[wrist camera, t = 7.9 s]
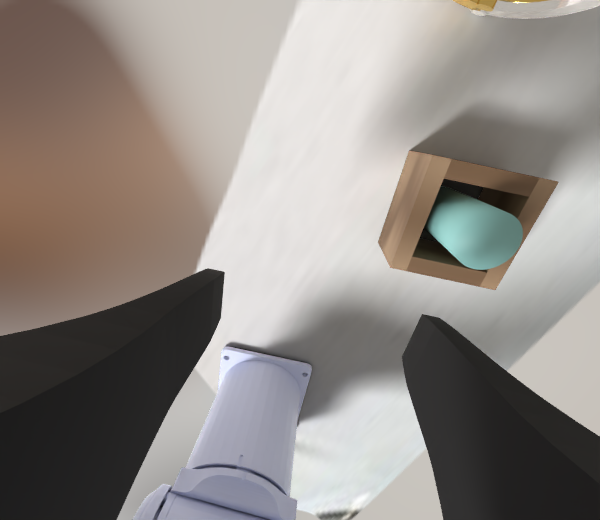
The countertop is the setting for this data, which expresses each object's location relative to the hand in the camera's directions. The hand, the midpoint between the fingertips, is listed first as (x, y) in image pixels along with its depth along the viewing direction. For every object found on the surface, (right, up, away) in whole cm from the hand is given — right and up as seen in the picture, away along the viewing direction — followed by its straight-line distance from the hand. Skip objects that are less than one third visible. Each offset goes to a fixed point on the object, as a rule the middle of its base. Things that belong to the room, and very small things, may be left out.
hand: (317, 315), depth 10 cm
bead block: (+8, +5, +8) cm, 12 cm away
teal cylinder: (+8, +5, +8) cm, 12 cm away
